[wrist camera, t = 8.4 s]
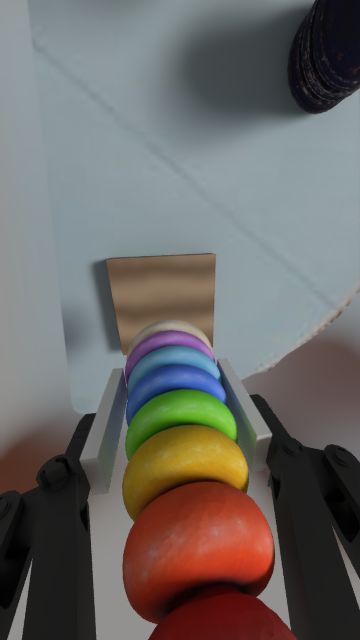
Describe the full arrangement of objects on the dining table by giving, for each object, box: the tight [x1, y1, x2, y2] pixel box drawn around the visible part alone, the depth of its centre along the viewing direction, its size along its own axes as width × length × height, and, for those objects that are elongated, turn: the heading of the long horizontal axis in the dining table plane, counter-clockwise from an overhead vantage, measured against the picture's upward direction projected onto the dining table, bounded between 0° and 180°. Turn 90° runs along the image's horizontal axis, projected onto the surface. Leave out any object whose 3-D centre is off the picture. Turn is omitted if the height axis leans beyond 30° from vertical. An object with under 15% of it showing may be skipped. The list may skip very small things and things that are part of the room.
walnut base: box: [106, 253, 216, 355], centre depth 32 cm, size 16×16×3 cm
